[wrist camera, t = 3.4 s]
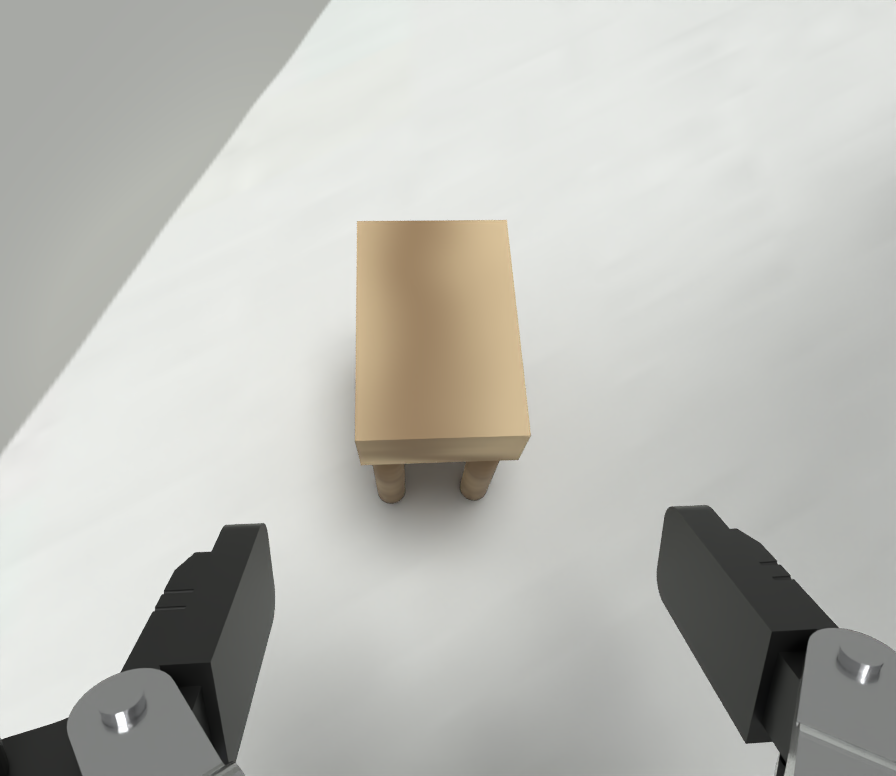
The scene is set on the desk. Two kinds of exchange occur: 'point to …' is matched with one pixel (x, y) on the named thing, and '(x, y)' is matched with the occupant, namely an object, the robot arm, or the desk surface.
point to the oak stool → (437, 351)
